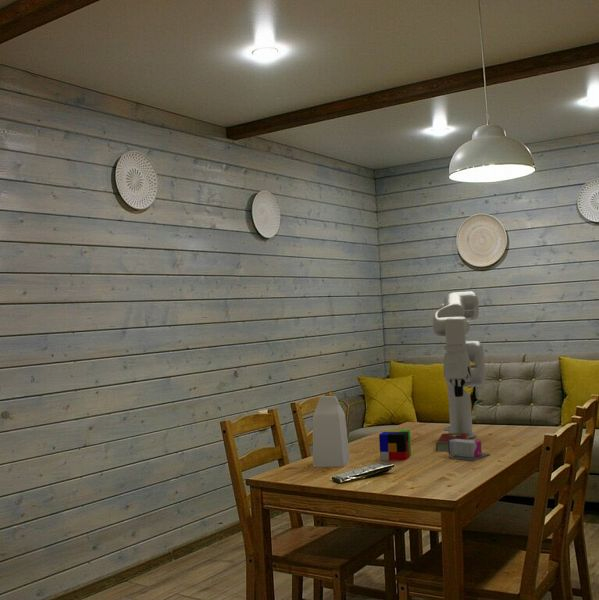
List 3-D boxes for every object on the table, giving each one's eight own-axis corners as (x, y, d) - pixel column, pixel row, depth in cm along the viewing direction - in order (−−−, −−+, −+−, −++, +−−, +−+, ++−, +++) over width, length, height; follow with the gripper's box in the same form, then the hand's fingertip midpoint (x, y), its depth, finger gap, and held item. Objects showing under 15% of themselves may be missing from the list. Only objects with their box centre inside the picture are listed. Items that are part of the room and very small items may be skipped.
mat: (449, 458, 283) (449, 457, 283) (467, 452, 293) (467, 451, 293) (471, 461, 276) (471, 459, 276) (490, 455, 285) (490, 453, 285)
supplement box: (448, 455, 288) (473, 458, 279) (447, 440, 288) (472, 442, 279) (457, 453, 292) (482, 455, 283) (456, 438, 292) (481, 440, 283)
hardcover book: (436, 452, 300) (435, 441, 300) (441, 442, 320) (441, 432, 321) (466, 451, 297) (465, 441, 297) (470, 442, 317) (469, 432, 317)
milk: (313, 466, 283) (309, 398, 284) (320, 460, 294) (316, 395, 295) (343, 466, 280) (339, 397, 280) (349, 460, 291) (346, 394, 291)
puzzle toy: (380, 460, 288) (379, 434, 288) (386, 455, 297) (385, 430, 298) (405, 460, 285) (404, 434, 285) (411, 455, 294) (409, 430, 294)
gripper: (434, 350, 290) (437, 396, 290) (467, 350, 280) (470, 398, 280) (445, 348, 296) (448, 394, 295) (478, 348, 285) (481, 396, 285)
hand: (459, 396), depth 288 cm, fingers closed
